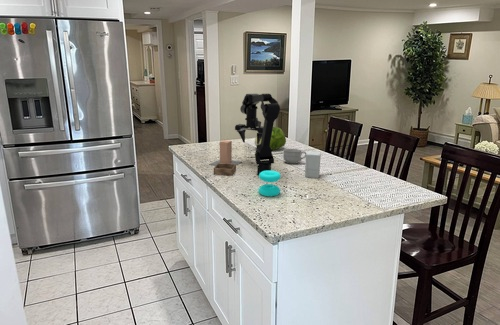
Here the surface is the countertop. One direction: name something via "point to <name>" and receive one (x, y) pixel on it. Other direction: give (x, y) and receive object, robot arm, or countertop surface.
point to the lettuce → (275, 139)
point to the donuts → (269, 188)
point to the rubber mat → (230, 163)
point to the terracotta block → (226, 152)
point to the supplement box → (312, 164)
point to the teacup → (293, 155)
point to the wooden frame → (225, 169)
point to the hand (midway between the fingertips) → (251, 143)
